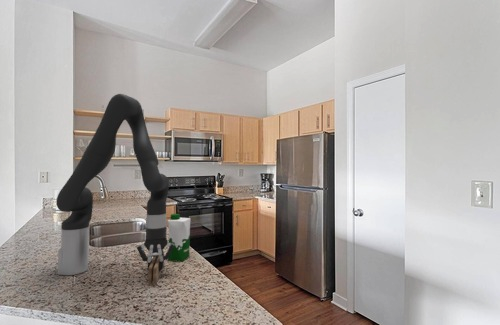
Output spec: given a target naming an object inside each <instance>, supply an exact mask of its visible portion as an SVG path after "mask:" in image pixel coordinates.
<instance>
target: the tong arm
mask: <svg viewBox="0 0 500 325" xmlns="http://www.w3.org/2000/svg"><path fill="white" fill-rule="evenodd" d="M155 257H156V263H155V266H154V268H153V282H152V285H153V286H156V285H157V284H158V283H157V282H158V280H159V277H160V274H161V272H162V270H161V271H159V261H160V258H159V256H155Z"/></svg>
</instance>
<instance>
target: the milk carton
mask: <svg viewBox="0 0 500 325" xmlns="http://www.w3.org/2000/svg"><path fill="white" fill-rule="evenodd" d="M167 227H168V242H169V243H174V247H173V249H172V251H171V253H170V255H169V257H168V259H167V261H172V262H180V263H181V262H182V263H183V262H184V261H185V260H187V259H188V258H189V257H190V247H191V245H190V244H191V243H190V242H191V241H190V239H191V237H190V236H191V218H190V217H181V215H180V213H172V214H170V219H167Z"/></svg>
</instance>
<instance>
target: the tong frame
mask: <svg viewBox="0 0 500 325" xmlns="http://www.w3.org/2000/svg"><path fill="white" fill-rule="evenodd" d="M155 256H159V253H156V252H155V253H153V255H152V261H151V264H150V266H149V269H148V268H147V274H148V276H147V279H148V280H147V283H148V284H147V286H148V287H152V285H153V268H154V266H155V263H156V257H155ZM163 256H165V248H164V249H163ZM164 266H165V260H164V261H163V267H164Z"/></svg>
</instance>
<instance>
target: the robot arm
mask: <svg viewBox="0 0 500 325" xmlns="http://www.w3.org/2000/svg"><path fill="white" fill-rule="evenodd" d="M145 120H146V119H145V116H144V112H143V108H142V105H141V103H140V102H139V101H138V100H137V99H136V98H135V97H132V96H129V95H126V94H124V93H117V94H115V95H113V96H112V97H111V98H110V100H109V101H108V103H107V106H106V107H105V110H104V113H103V116H102V118H101V121H100V123H99V124H98V126H97V129H96V130H95V132H94V134H93V136H92V138H91V140H90V141H89V143H88V145H87V147H86V148H85V150H84V153H83V154H82V156H81V159H80V160H79V161H78V164H77V165H76V167H75V168H74V171H73V172H72V173H71V175H70V177H69V178H68V180H67V181H66V182H65V183H64V185H63V187H62V188H61V189H60V191H59V193H58V194H57V197H56V206H57V209H58V210H59V211H61V212H64V213H68V212H69V213H70V212H71V213H70V215H69V216H68V217H67V218H66V219H64V220H63V221H62V222H61V226H60V227H61V232H60V235H61V236H60V248H59V249H58V251H57V252H58V253H57V254H58V258H57V275H60V276H73V275H78V274H82V273H85V272H87V271H88V270H89V256H90V255H89V254H90V253H89V252H90V251H89V250H90V249H89V248H90V246H89V245H90V222H91V220H92V216H93V204H94V198H93V197H94V196H93V192H92V191H91V190H90V188H87V185H89V183H90V182H91V181H92V180H93V179H94V178H96V177H97V176H98V175H99V174H100V173H101V172H103V171H104V170H105V169H106V168H107V167H108V165H109V164H110V162H111V160H112V158H113V156H114V154H115V153H116V149H117V148H116V145H117V134H118V132H119V129H120V128H121V125H122V123H124V121H126V123H127V124H128V126H129V128H130V130H131V134H132V147H133V152H134V155H135V158H136V160H137V162H138V165H139V167H140V168H139V169H140V173H141V178H142V182H143V185H144V187H145V189H146V190H147V191H148V192H150V196H149V199H148V200H147V204H146V218H145V241H144V243H142V244H138V246H137V247H136V250H137V251H138V254H139V256H140V258H141V260H142V261H143V262H146V263H147V270H148V269H149V266H150V264H151V261H152V259H153V256H152V255H153V253H155V252H156V253H159V258H160V261H159V271H161V272H162V270H163V269H164V266H163V261H164V262H165V260H167V261H168V257H169V255H170V253H171V251H172V249H173V247H174V243H169V240H168V239H167V227H168V219H167V199H168V193H169V187H170V186H169V185H170V182H169V178H168V176H167V175H166V174H164V173H161V172H160V170H159V167H158V166H159V163H160V162H159V159H158V157H157V153H156V152H155V149H154V147H153V144H152V142H151V138H150V135H149V132H148V128H147V124H146V122H145ZM166 247H167V249H168V250H167V252H166V253H165V254H164V256H163V249H164V250H165V248H166ZM145 248H146V250H147V251H148V256H147V255H146V252H145Z"/></svg>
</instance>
